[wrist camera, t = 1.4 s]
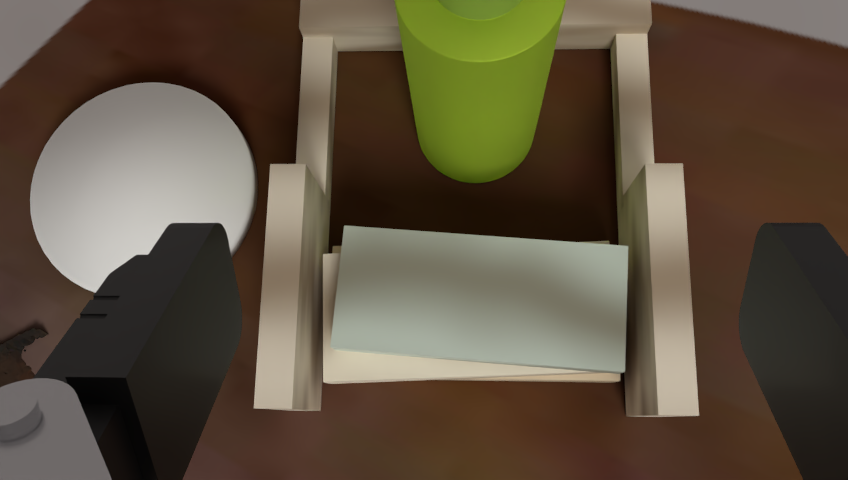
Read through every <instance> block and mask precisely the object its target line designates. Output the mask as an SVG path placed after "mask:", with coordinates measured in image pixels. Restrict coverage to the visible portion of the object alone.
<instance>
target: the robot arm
mask: <svg viewBox="0 0 848 480" xmlns="http://www.w3.org/2000/svg"><path fill="white" fill-rule="evenodd" d="M241 328H242V309H241V302H240V297H239V292H238V287H237V282H236V277H235V272H234V267H233V262H232V257H231V252H230V247H229V242H228V237H227V233H226V230H225V228H224V227H223V225H222V224H220V223H171V224H169V225H168V226H167V228H166V229H165V231H164V232H163V233H162V235H161V236H160V238H159V239H158V241H157V242H156V244H155V245H154V247H153V248H152V250H151V251H150V253H149V254H148V255H135V256H134V257H133V258H131V259H130V260H128V261H127V262H125V263H124V264H123V265H121V266H120V267H118V268H117V269H115V270H114V271H113V272H111V273H110V274H109V275H108V276H107V278H106V279H105V280H104V282H103V283H102V285H101V286H100V287H99V289H98V290H97V291H96V293H95V294H94V299H93V300H90V301H89V302H88V304H87V305H86V306H85V308H84V309H83V311H82V312H81V313H80V318H77V319H76V320H75V322H74V323H73V324H72V326H71V327H70V328H69V330H68V331H67V332H66V334H65V335H64V337H63V338H62V339H61V341H60V342H59V343H58V345H57V346H56V348H55V349H54V350H53V352H52V353H51V354H50V356H49V357H48V358H47V360H46V361H45V363H44V364H43V365H42V367H41V368H40V369H39V371H38V372H37V374H36V375H35V376H34V378H33V379H27V380H22V381H18V382H14V383H11V384H8V385H5V386H2V387H0V480H182V479H183V477H184V474H185V472H186V470H187V467H188V465H189V462H190V460H191V458H192V455H193V453H194V450H195V448H196V445H197V443H198V441H199V438H200V436H201V433H202V431H203V429H204V426H205V424H206V421H207V419H208V417H209V414H210V412H211V409H212V407H213V404H214V402H215V400H216V397H217V395H218V392H219V390H220V388H221V385H222V383H223V380H224V378H225V376H226V373H227V371H228V368H229V366H230V363H231V361H232V359H233V356H234V354H235V351H236V349H237V347H238V344H239V340H240V335H241ZM739 333H740V340H741V344H742V348H743V351H744V353H745V355H746V357H747V359H748V362H749V364H750V366H751V368H752V370H753V372H754V375H755V377H756V379H757V381H758V383H759V385H760V387H761V390H762V392H763V394H764V396H765V398H766V400H767V402H768V405H769V407H770V409H771V411H772V413H773V415H774V417H775V420H776V422H777V424H778V426H779V428H780V430H781V432H782V435H783V437H784V439H785V441H786V443H787V445H788V447H789V450H790V452H791V454H792V456H793V458H794V460H795V462H796V465H797V467H798V469H799V471H800V473H801V475H802V477H803V480H848V257H847V255H846V254H845V253H844V251H843V250H842V249H841V247H840V246H839V245H838V244H837V242H836V241H835V240H834V238H833V237H832V236H831V235H830V233H829V232H828V231H827V229H826V228H825V227H824V226H823V225H822V224H820V223H765V224H763V225H762V226H761V227H760V229H759V231H758V233H757V236H756V240H755V244H754V249H753V253H752V258H751V262H750V267H749V271H748V276H747V280H746V285H745V289H744V293H743V298H742V302H741V307H740V313H739Z"/></svg>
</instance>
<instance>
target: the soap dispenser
mask: <svg viewBox="0 0 848 480" xmlns="http://www.w3.org/2000/svg"><path fill="white" fill-rule="evenodd" d="M394 1H395V7H396V13H397V18H398V24H399V30H400V36H401V42H402V48H403V53H404V59H405V65H406V71H407V77H408V83H409V89H410V94H411V100H412V106H413V112H414V118H415V124H416V130H417V135H418V140H419V144H420V147H421V149H422V151H423V153H424V155H425V157H426V158H427V160H428V161H429V162H430V163H431V164H432V165H433V166H434V167H435V168H436V169H437V170H438V171H439V172H441V173H442V174H444V175H446V176H448V177H450V178H452V179H455V180H458V181H461V182H467V183H484V182H490V181H493V180H496V179H499V178H501V177H503V176H505V175H507V174H509V173H510V172H512V171H513V170H514V169H515V168H516V167H518V166H519V165H520V163H521V162H522V161H523V160H524V159H525V157H526V156H527V154H528V152H529V150H530V148H531V145H532V142H533V138H534V134H535V130H536V126H537V121H538V117H539V113H540V109H541V104H542V100H543V96H544V92H545V88H546V83H547V79H548V75H549V71H550V66H551V62H552V58H553V54H554V49H555V45H556V41H557V37H558V33H559V28H560V24H561V20H562V16H563V11H564V7H565V3H566V0H394Z"/></svg>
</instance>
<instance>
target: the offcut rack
mask: <svg viewBox="0 0 848 480" xmlns="http://www.w3.org/2000/svg"><path fill="white" fill-rule="evenodd" d="M651 24H652V17H651V0H566V3H565V7H564V11H563V16H562V20H561V24H560V28H559V33H558V37H557V41H556V45H555V49H610V51H611V75H612V98H613V121H614V145H615V168H616V192H617V215H618V238H619V245H609V241H593V242H567V241H553V240H539V239H525V238H511V237H497V236H483V235H469V234H456V233H442V232H428V231H414V230H400V229H386V228H372V227H358V226H344V231H343V239H342V246H333V252H332V254H328V247H329V226H330V205H331V184H332V163H333V142H334V121H335V100H336V79H337V58H338V51H403V48H402V42H401V36H400V30H399V24H398V18H397V13H396V7H395V1H394V0H301V3H300V20H299V29H300V31H301V33H302V36H303V51H302V67H301V84H300V101H299V118H298V135H297V151H296V164H270V176H269V191H268V205H267V220H266V235H265V250H264V265H263V279H262V294H261V309H260V324H259V338H258V353H257V368H256V383H255V398H254V408H259V409H275V410H295V411H321V393H322V372H323V382H325V383H329V384H338V383H364V382H390V381H416V380H477V381H544V382H611V383H614V382H618V381H620V373H623V372H624V379H625V402H626V416H640V417H673V416H699V409H698V393H697V378H696V362H695V347H694V331H693V315H692V300H691V284H690V269H689V253H688V238H687V222H686V207H685V191H684V175H683V164H654V151H653V132H652V114H651V96H650V78H649V60H648V42H647V33H648V31H649V29H650V26H651Z"/></svg>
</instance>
